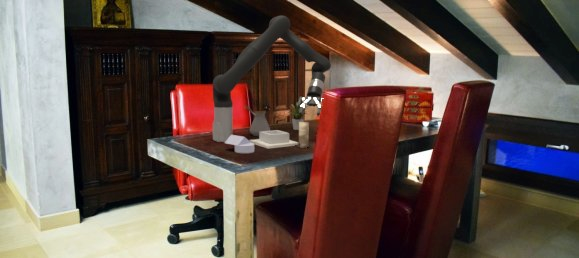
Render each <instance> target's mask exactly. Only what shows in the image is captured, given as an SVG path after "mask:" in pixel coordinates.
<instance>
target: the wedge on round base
mask: <svg viewBox="0 0 579 258" xmlns="http://www.w3.org/2000/svg"><path fill="white" fill-rule="evenodd" d="M249 140H250V139H248V138H247V137H245V136H242V135H235V134H233V135H230V137H229V138H228V139H227V140H226V142H224V144H226V145H233V146H234V152H235V153H237V154H251V153H252V154H253V153H254V152H255V144H254V143H251V142H250V141H249Z"/></svg>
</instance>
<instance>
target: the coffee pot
mask: <svg viewBox="0 0 579 258" xmlns="http://www.w3.org/2000/svg"><path fill="white" fill-rule="evenodd" d="M244 108H245V109H247V110H248V111H249V112H250V113H251V114H253V115H254V117H253V121H252V123H251V125H250V128H249V133H250V134H251V135H252V136H254V137H259V132H262V131H271V127H270V125H269V122H268V121H267V118H266V113H267V111H264V110H263V111H262V110H256V111H253V110H252V109H251V108H250V107H249V106H247V105H244Z"/></svg>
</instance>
